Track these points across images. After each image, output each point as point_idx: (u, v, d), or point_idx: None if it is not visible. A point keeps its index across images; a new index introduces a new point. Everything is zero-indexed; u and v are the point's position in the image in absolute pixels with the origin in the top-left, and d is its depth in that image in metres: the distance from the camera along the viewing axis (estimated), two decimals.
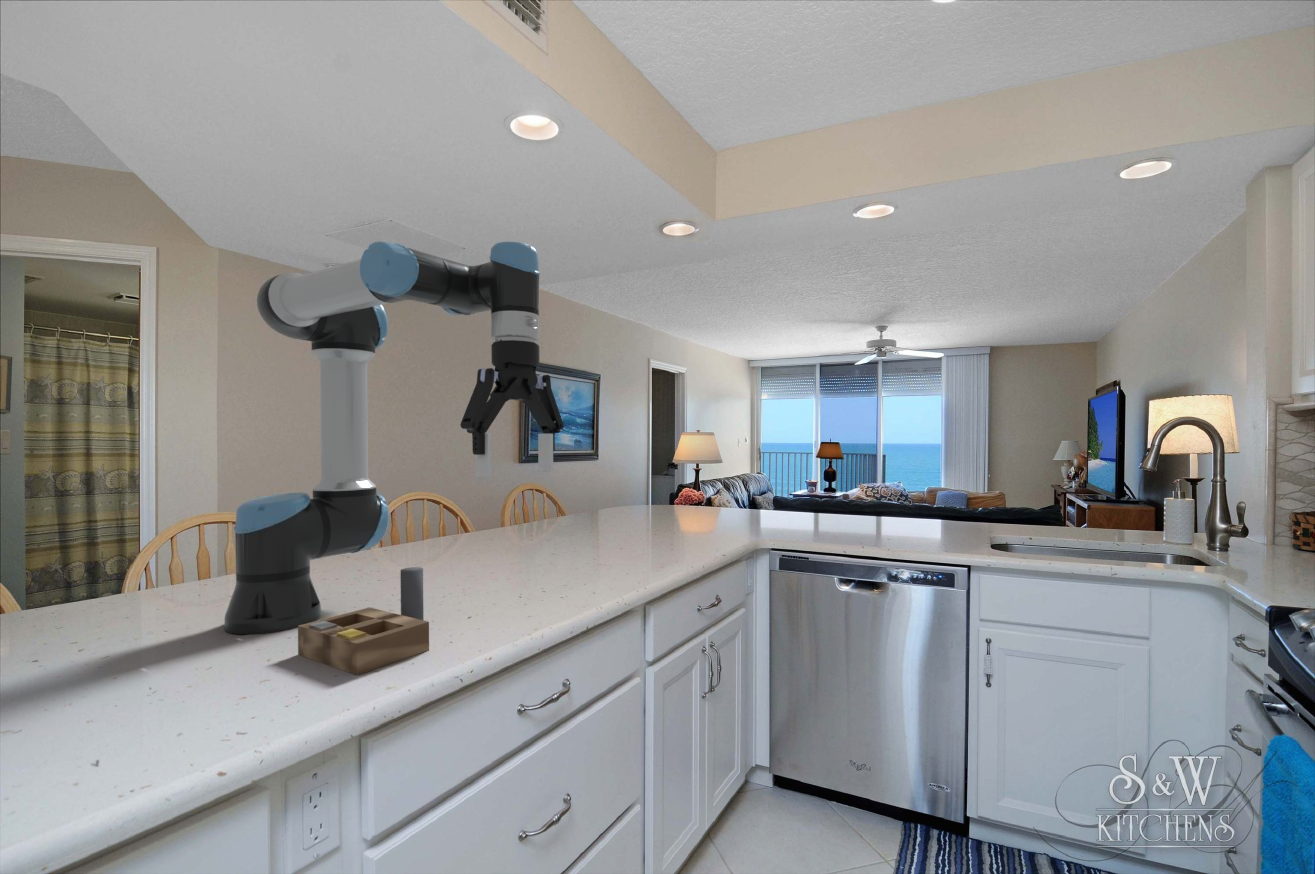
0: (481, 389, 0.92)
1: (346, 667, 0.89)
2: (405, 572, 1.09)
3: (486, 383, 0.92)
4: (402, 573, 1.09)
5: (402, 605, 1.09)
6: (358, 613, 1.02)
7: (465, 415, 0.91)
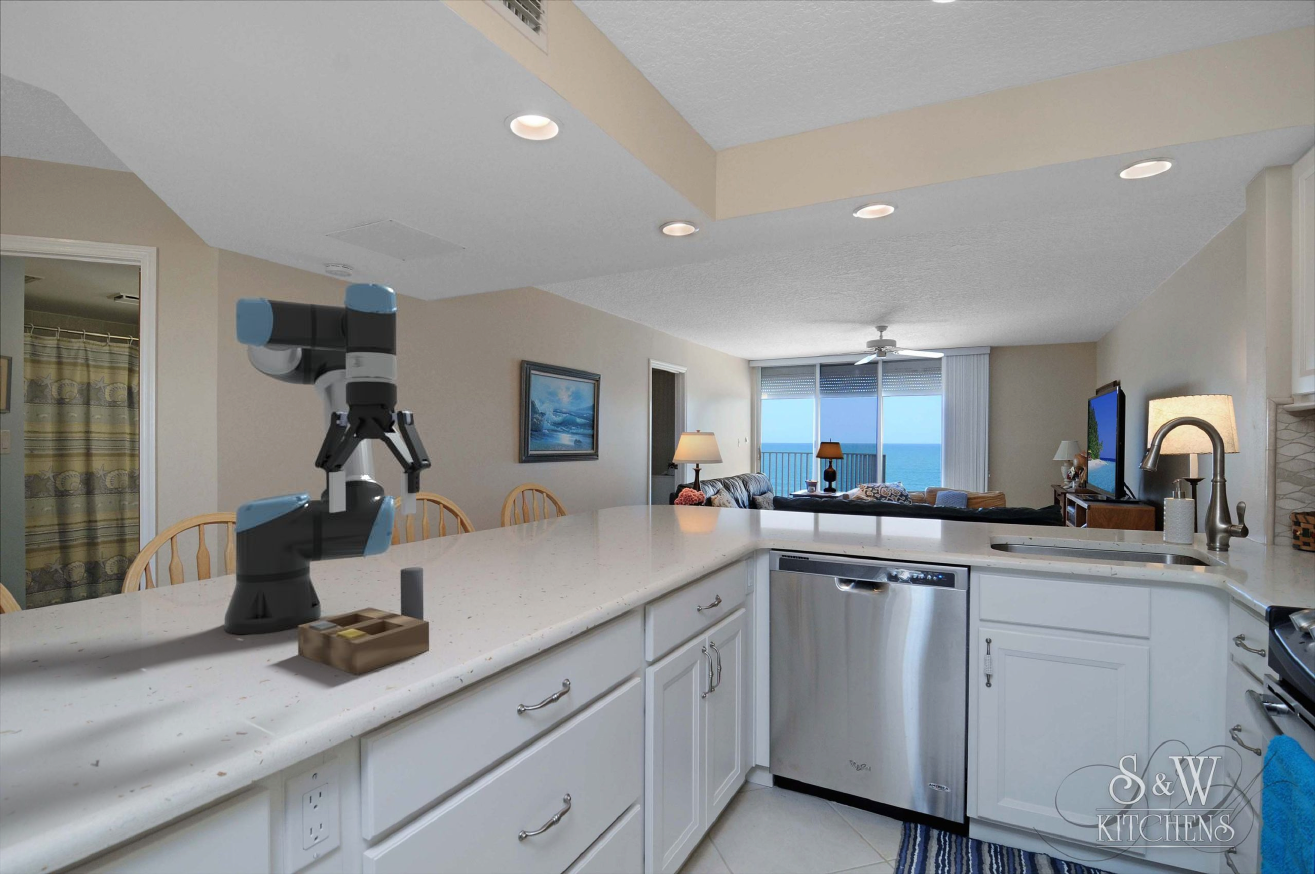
0: None
1: (346, 667, 0.89)
2: (405, 572, 1.09)
3: None
4: (402, 573, 1.09)
5: (402, 605, 1.09)
6: (358, 613, 1.02)
7: None
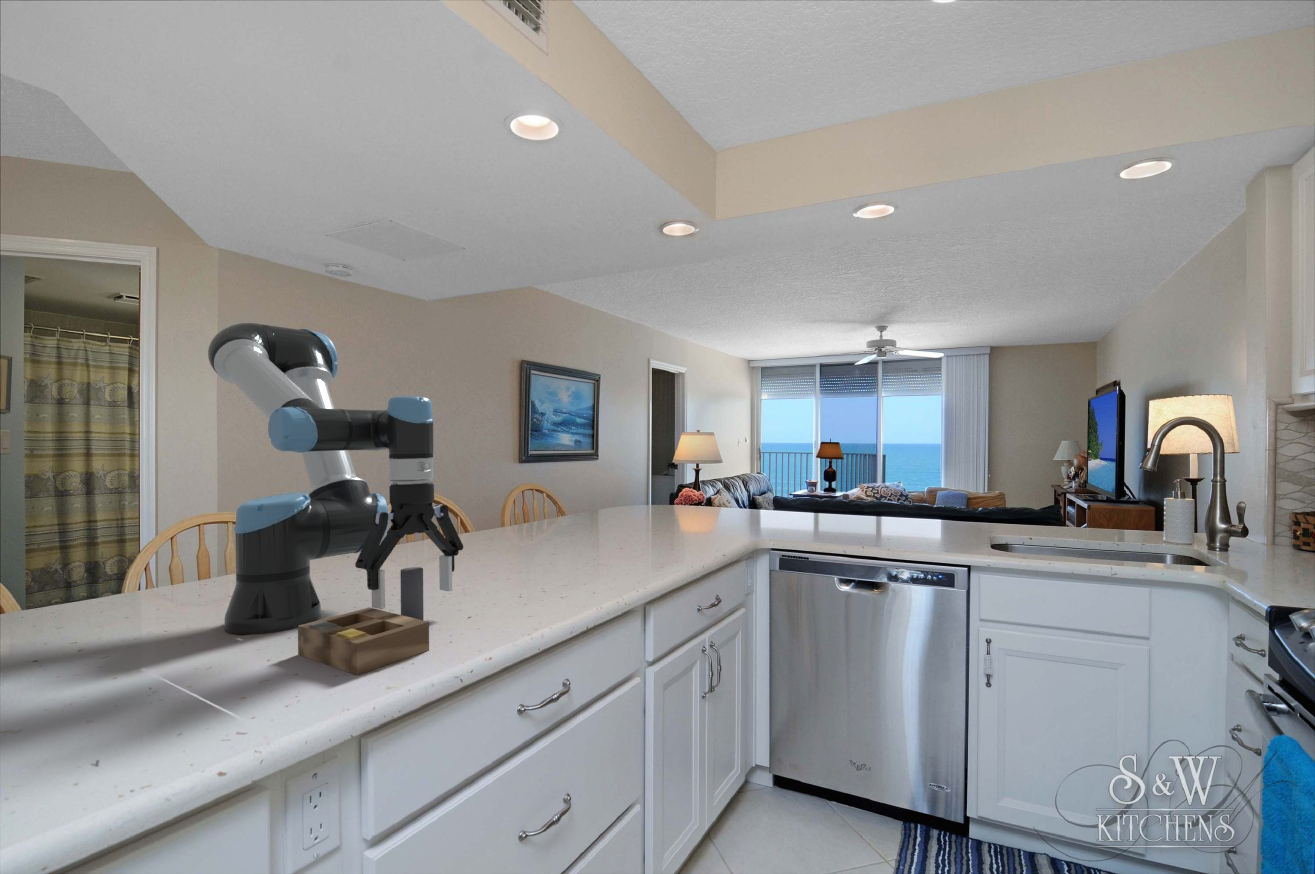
0: (375, 532, 1.04)
1: (346, 667, 0.89)
2: (405, 572, 1.09)
3: (379, 526, 1.04)
4: (402, 573, 1.09)
5: (402, 605, 1.09)
6: (358, 613, 1.02)
7: (360, 556, 1.03)
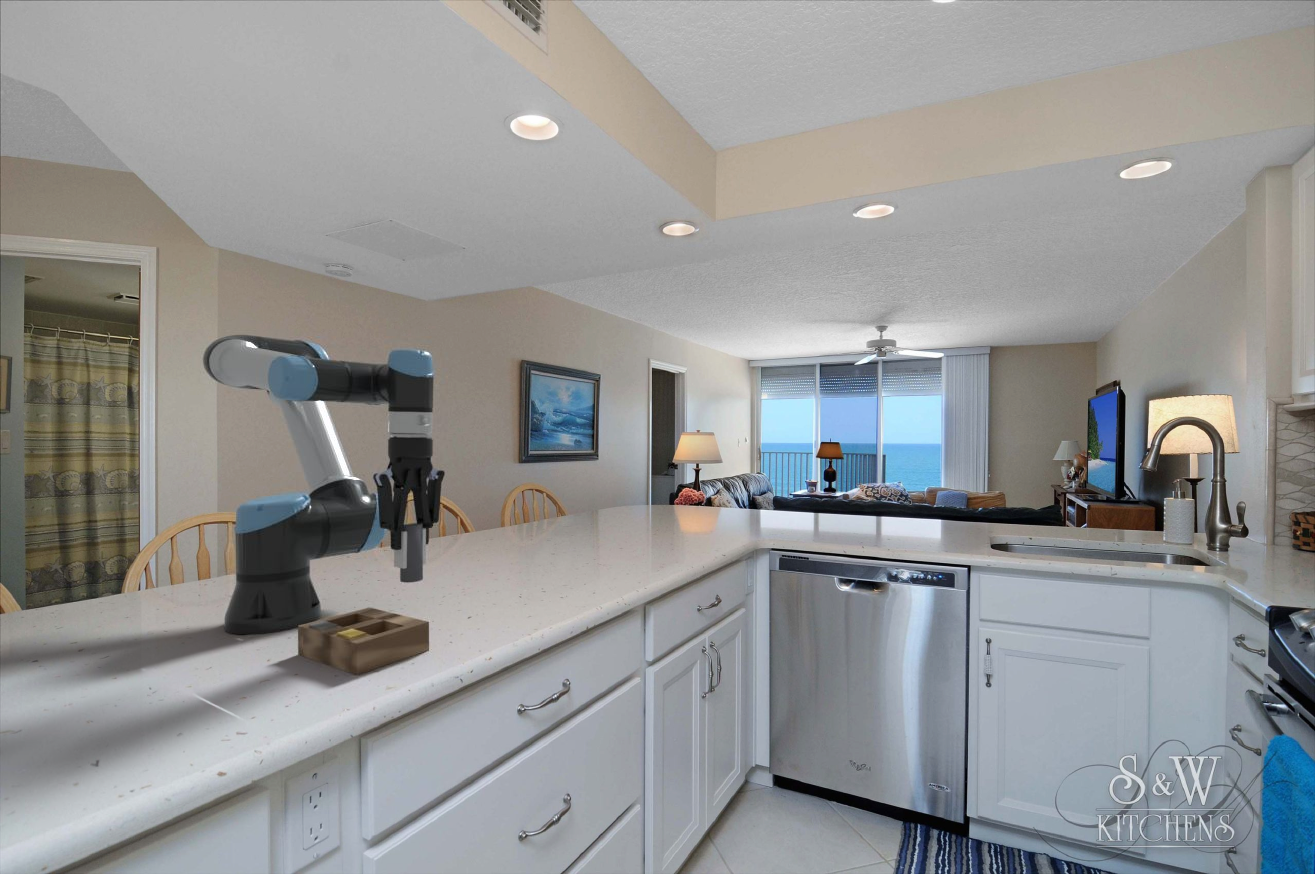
0: (383, 494, 1.06)
1: (346, 667, 0.89)
2: (404, 527, 1.09)
3: (385, 488, 1.06)
4: None
5: None
6: (358, 613, 1.02)
7: (380, 518, 1.07)
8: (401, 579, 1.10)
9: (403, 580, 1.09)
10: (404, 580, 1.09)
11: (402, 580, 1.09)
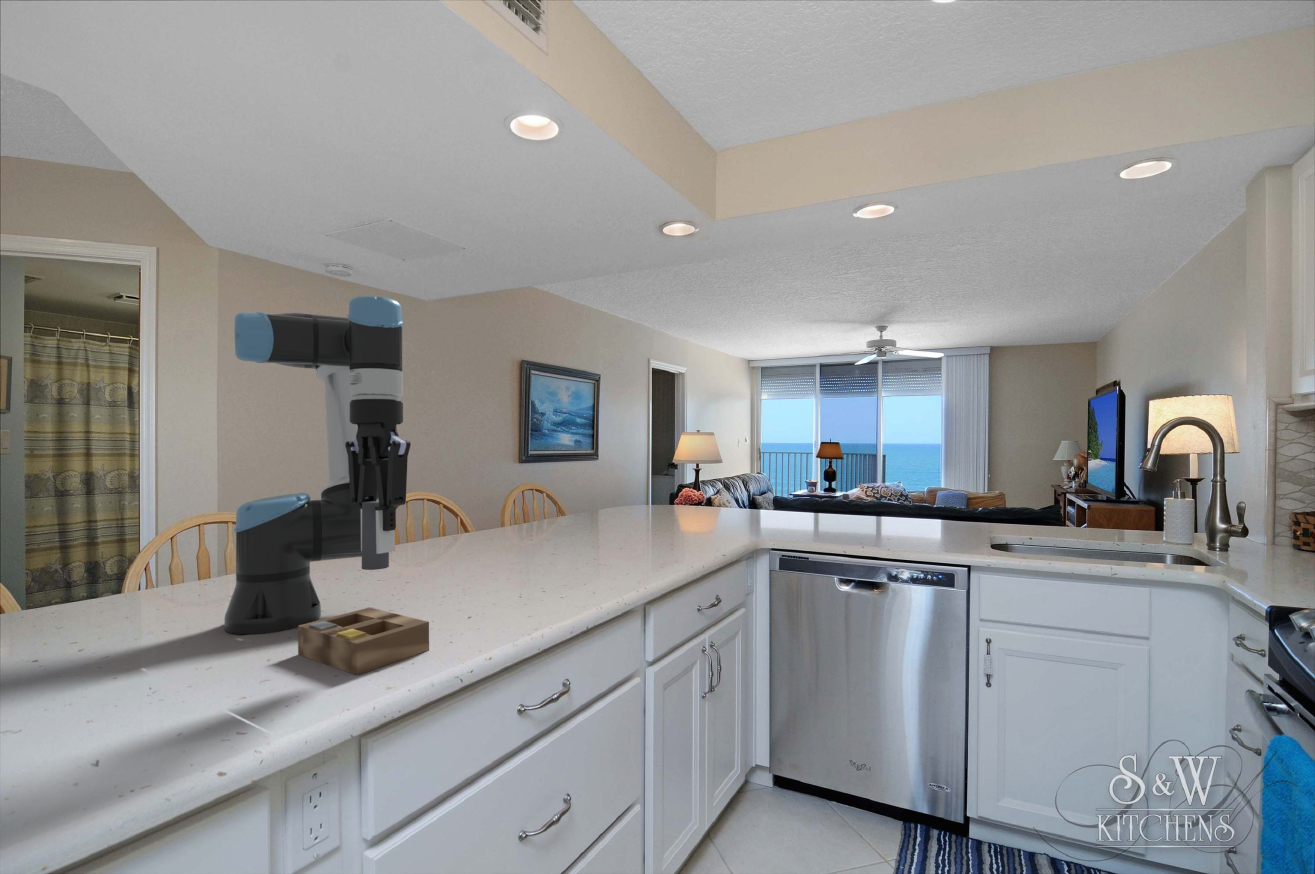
0: None
1: (346, 667, 0.89)
2: None
3: None
4: None
5: None
6: (358, 613, 1.02)
7: None
8: None
9: None
10: None
11: None
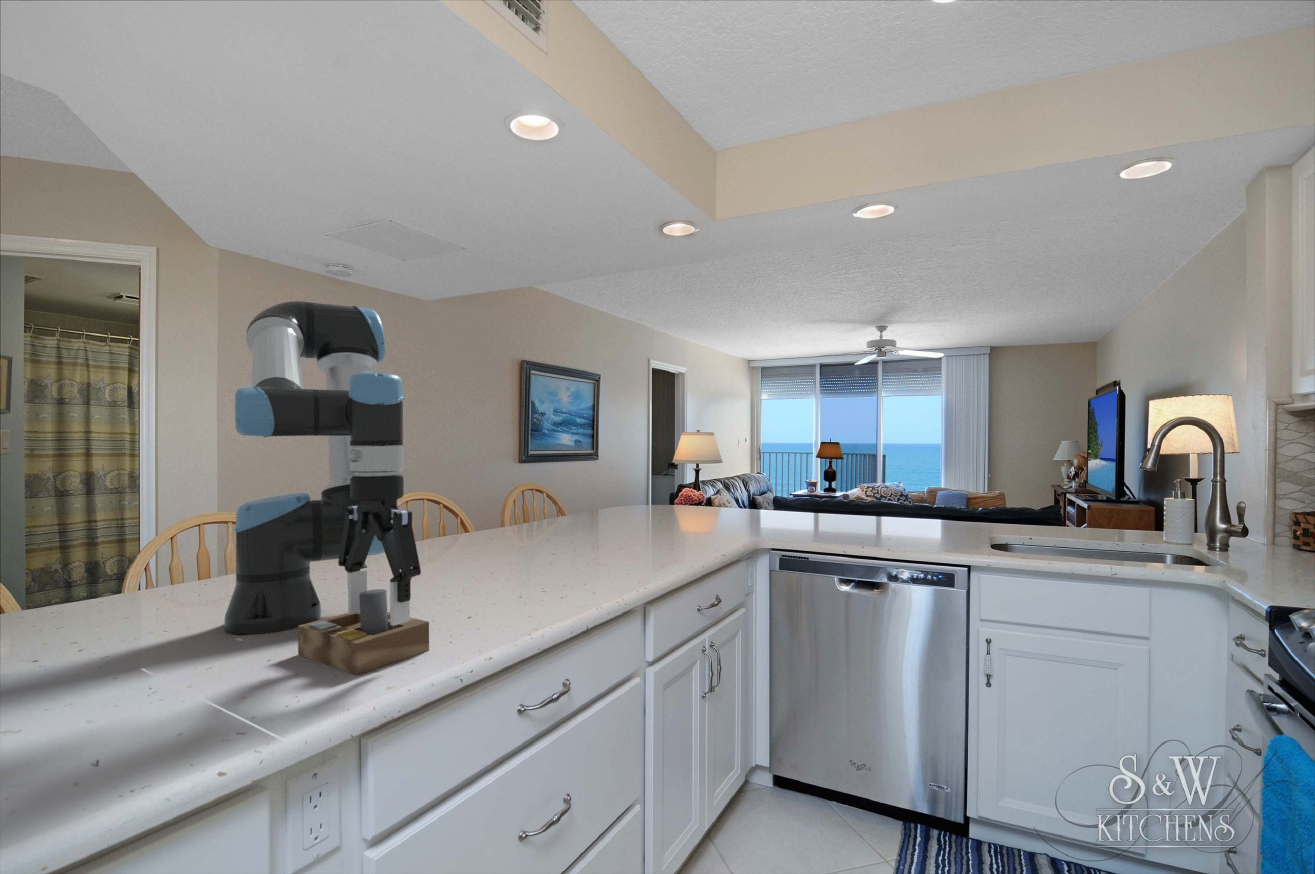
0: None
1: (346, 667, 0.89)
2: None
3: None
4: None
5: None
6: (358, 613, 1.02)
7: None
8: None
9: None
10: None
11: None
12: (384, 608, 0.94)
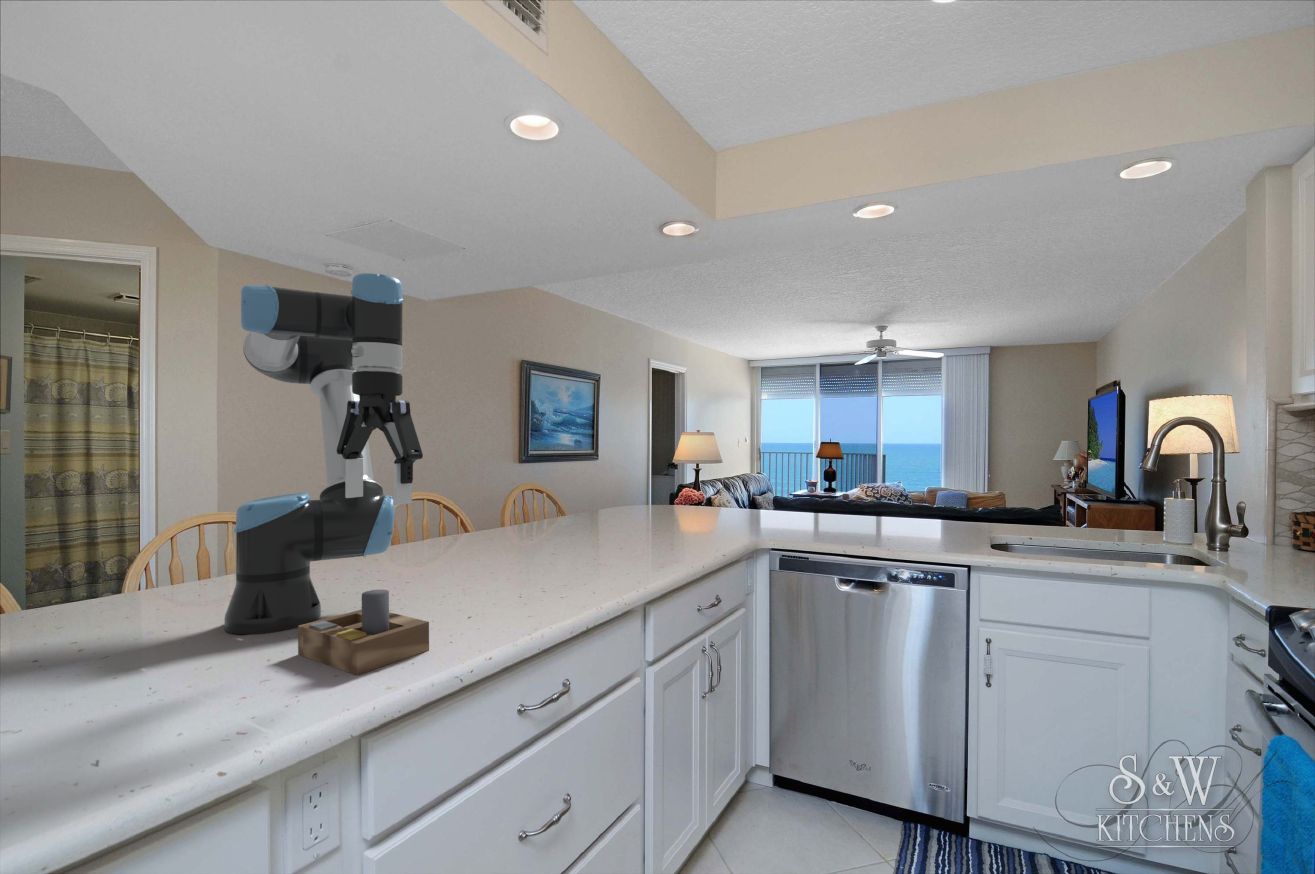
0: None
1: (346, 667, 0.89)
2: None
3: None
4: None
5: None
6: (358, 613, 1.02)
7: None
8: None
9: None
10: None
11: None
12: (386, 609, 0.94)
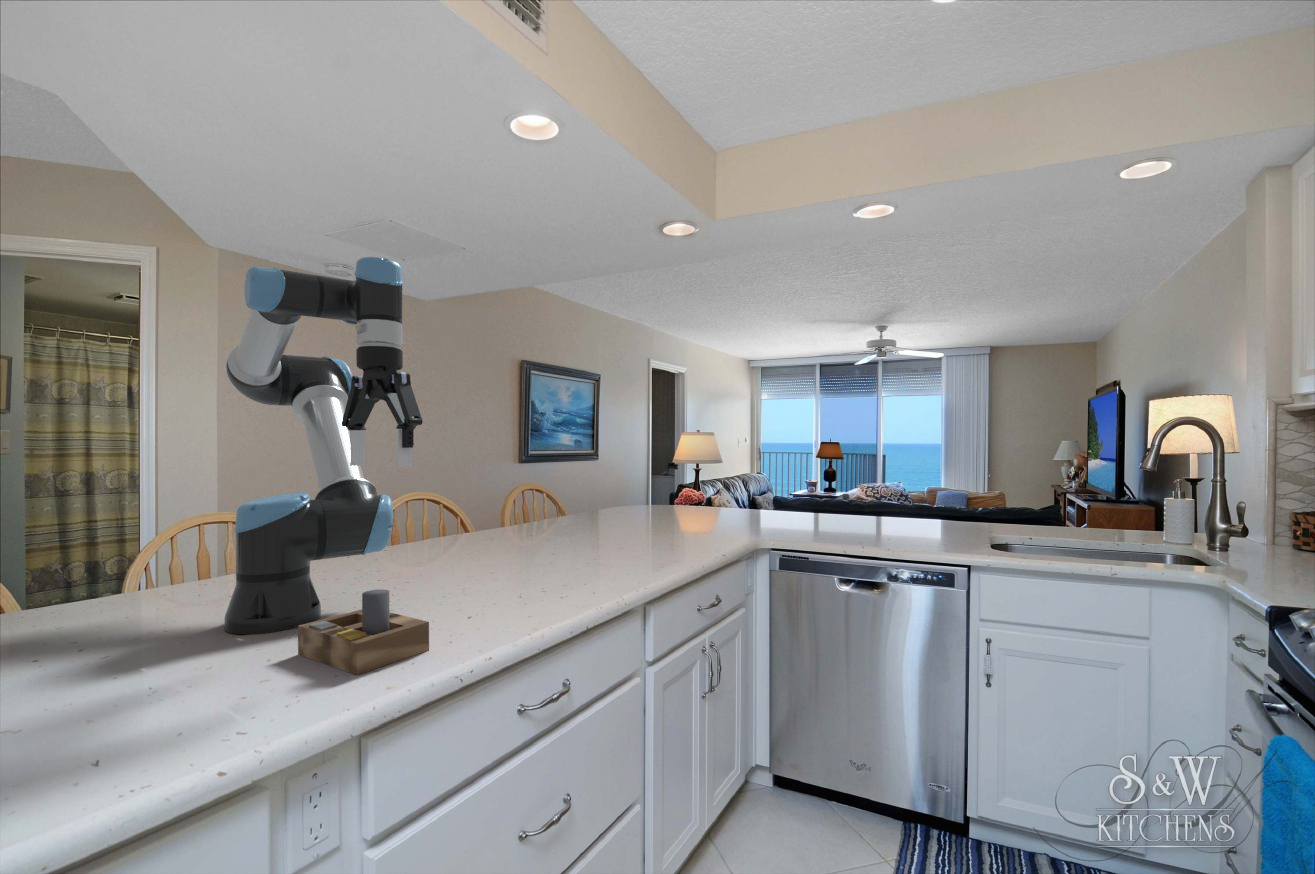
0: None
1: (346, 667, 0.89)
2: None
3: None
4: None
5: None
6: (358, 613, 1.02)
7: None
8: None
9: None
10: None
11: None
12: (386, 609, 0.94)
